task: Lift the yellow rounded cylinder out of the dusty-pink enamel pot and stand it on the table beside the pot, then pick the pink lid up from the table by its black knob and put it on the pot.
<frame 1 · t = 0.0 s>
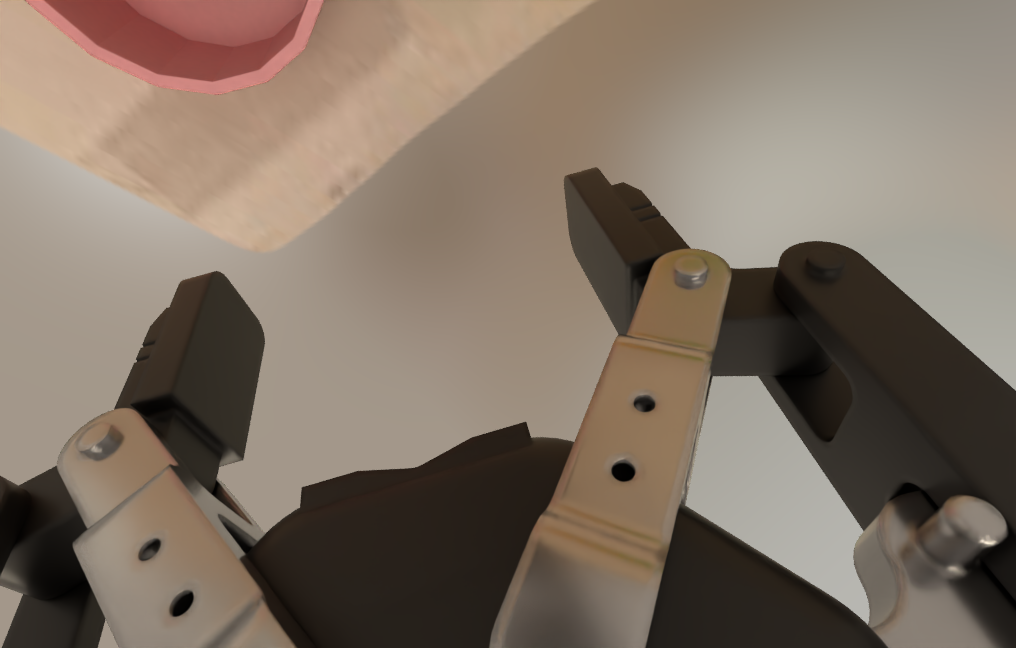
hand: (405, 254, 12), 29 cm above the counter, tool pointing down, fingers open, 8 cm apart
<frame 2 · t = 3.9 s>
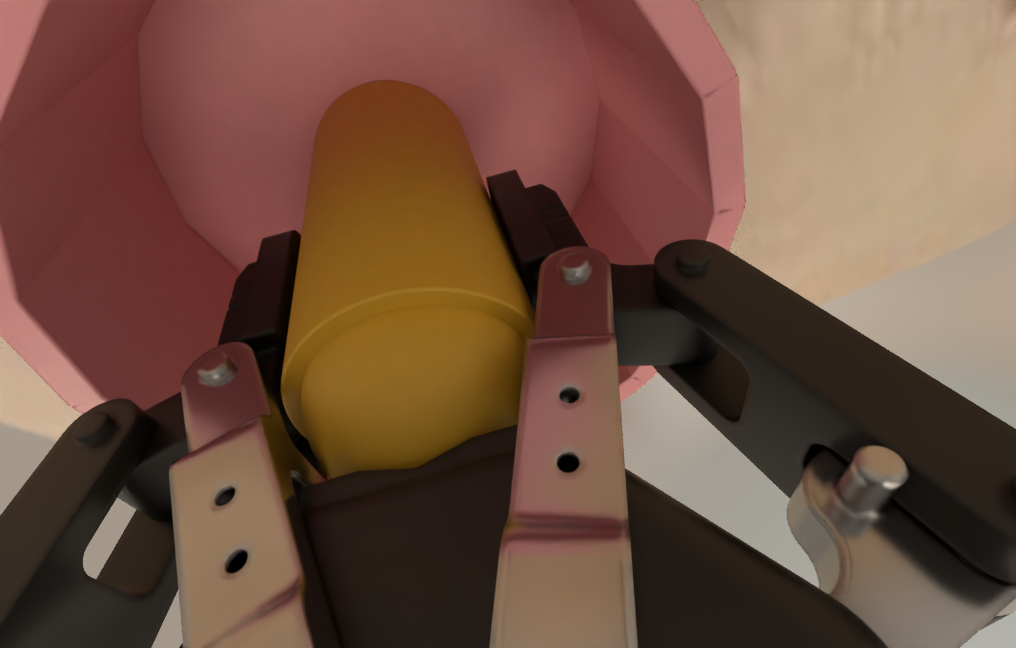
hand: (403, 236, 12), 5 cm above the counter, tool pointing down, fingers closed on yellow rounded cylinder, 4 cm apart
pot: (393, 152, 16), on the counter
yellow rounded cylinder: (394, 159, 15), point 1 cm above the counter, touching gripper, pot
when the fingers open (4 cm above the counter, at t = 11.5 s): yellow rounded cylinder stays where it is, on the counter.
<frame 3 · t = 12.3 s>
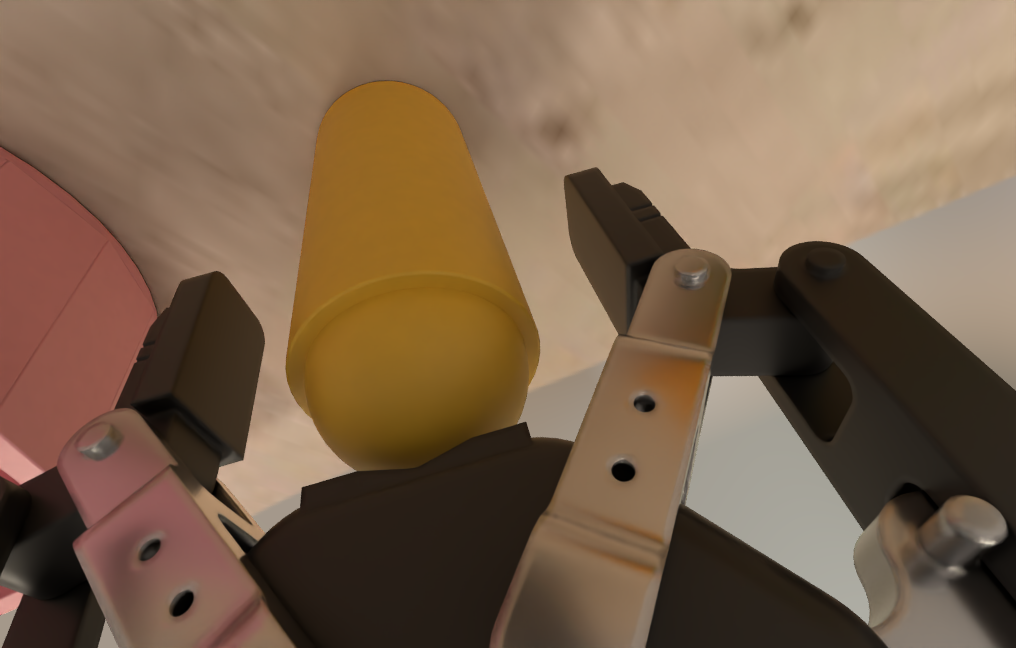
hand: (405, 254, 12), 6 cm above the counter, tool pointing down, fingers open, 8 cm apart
yellow rounded cylinder: (393, 157, 16), on the counter
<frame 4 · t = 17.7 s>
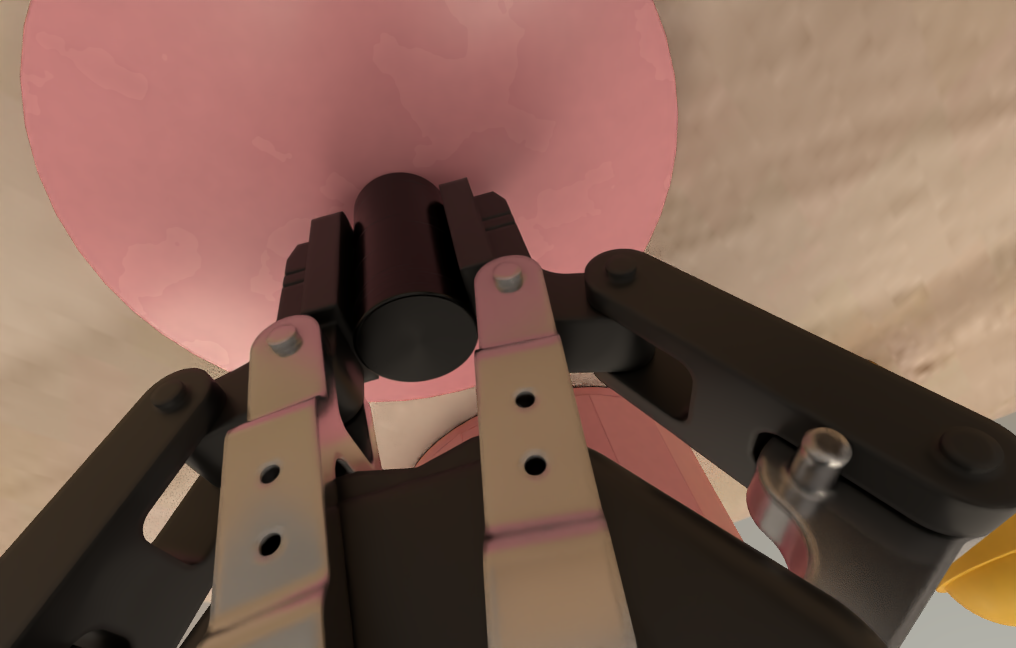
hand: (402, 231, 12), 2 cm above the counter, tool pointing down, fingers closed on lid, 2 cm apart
pot: (544, 477, 26), on the counter
yellow rounded cylinder: (835, 390, 27), on the counter
lid: (400, 204, 13), point 1 cm above the counter, touching gripper
when the fingers open (9 cm above the counter, at t = 23.2 s): lid stays where it is, resting on pot.
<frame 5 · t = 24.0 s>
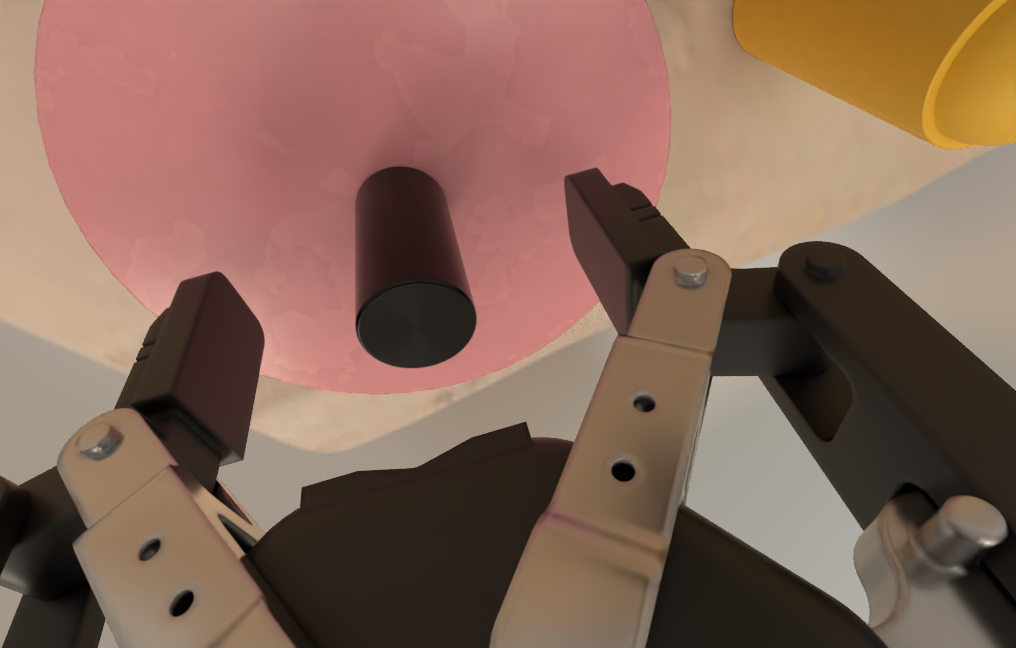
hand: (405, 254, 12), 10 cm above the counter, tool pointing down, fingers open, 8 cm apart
lid: (400, 198, 14), point 7 cm above the counter, touching pot
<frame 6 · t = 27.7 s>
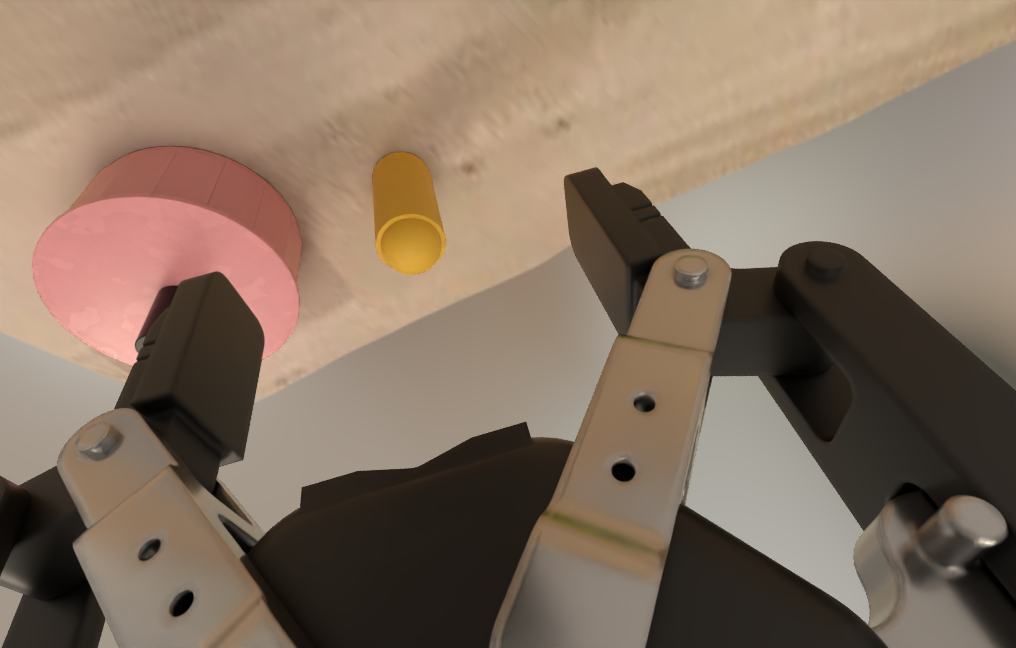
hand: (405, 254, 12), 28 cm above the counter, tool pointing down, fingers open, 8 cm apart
pot: (202, 235, 40), on the counter
yellow rounded cylinder: (402, 179, 40), on the counter
lid: (179, 294, 34), point 7 cm above the counter, touching pot
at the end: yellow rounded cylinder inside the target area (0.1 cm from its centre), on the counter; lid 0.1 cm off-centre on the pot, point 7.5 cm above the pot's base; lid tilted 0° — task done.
